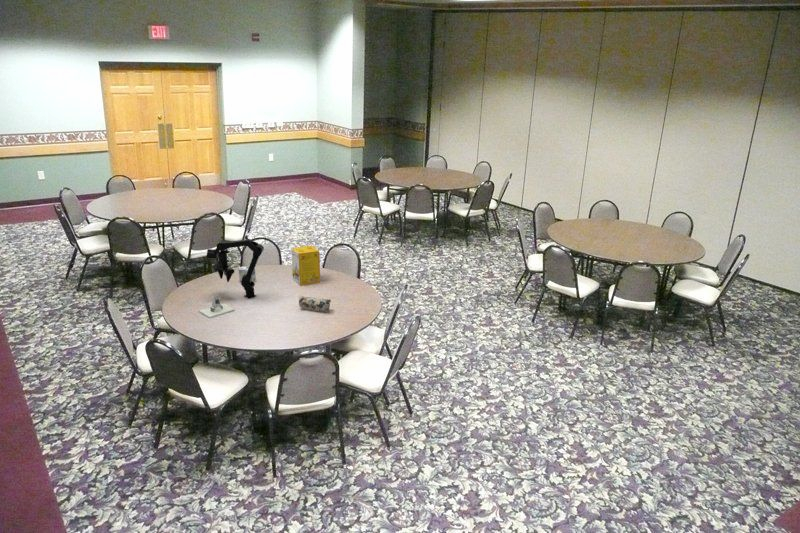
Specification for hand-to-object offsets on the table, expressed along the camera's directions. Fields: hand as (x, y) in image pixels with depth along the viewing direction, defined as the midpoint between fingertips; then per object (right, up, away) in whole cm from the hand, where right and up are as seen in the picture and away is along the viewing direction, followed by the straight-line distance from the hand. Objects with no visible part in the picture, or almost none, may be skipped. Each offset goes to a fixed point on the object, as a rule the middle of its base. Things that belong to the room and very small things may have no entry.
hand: (224, 280), depth 407 cm
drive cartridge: (+1, -19, -22) cm, 29 cm away
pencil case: (+65, -20, -16) cm, 70 cm away
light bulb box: (+8, -2, +33) cm, 34 cm away
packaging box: (+51, -2, +36) cm, 63 cm away
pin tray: (+1, -20, -21) cm, 29 cm away
